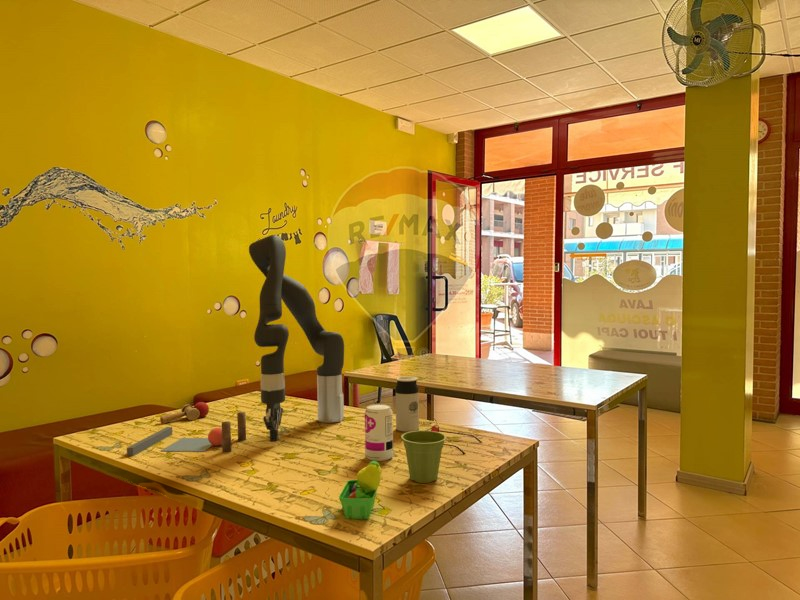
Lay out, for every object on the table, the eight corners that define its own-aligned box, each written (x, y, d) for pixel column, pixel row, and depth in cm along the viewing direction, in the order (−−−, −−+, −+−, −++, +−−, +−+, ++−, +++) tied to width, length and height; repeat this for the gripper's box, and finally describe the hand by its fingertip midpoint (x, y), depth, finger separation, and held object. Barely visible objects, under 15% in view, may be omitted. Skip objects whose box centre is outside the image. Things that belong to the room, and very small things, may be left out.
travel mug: (392, 428, 197) (391, 377, 196) (413, 425, 200) (412, 375, 199) (401, 433, 189) (400, 380, 189) (422, 430, 193) (422, 379, 192)
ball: (232, 431, 181) (217, 421, 181) (225, 438, 176) (210, 428, 175) (223, 444, 182) (208, 435, 182) (216, 451, 176) (201, 442, 176)
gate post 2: (247, 438, 186) (246, 411, 186) (244, 440, 183) (243, 413, 183) (239, 438, 186) (239, 411, 186) (236, 440, 184) (236, 413, 183)
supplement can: (372, 463, 159) (371, 411, 158) (361, 455, 166) (360, 405, 166) (398, 459, 163) (397, 408, 162) (385, 451, 170) (384, 402, 169)
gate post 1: (232, 450, 173) (231, 421, 173) (229, 452, 171) (228, 423, 170) (224, 450, 174) (223, 421, 173) (221, 452, 171) (220, 423, 171)
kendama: (167, 430, 204) (213, 414, 216) (163, 413, 204) (210, 398, 216) (160, 429, 210) (206, 414, 222) (156, 413, 210) (202, 399, 222)
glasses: (436, 437, 186) (436, 422, 185) (483, 444, 177) (483, 428, 177) (417, 449, 173) (416, 433, 173) (466, 456, 165) (466, 439, 165)
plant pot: (413, 490, 138) (412, 445, 138) (394, 475, 149) (394, 433, 149) (455, 482, 143) (454, 439, 143) (434, 468, 154) (433, 428, 154)
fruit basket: (348, 500, 132) (347, 453, 132) (385, 501, 132) (384, 454, 131) (338, 521, 121) (337, 469, 121) (378, 522, 120) (378, 470, 120)
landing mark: (222, 438, 186) (222, 438, 186) (204, 451, 172) (204, 451, 172) (182, 438, 187) (182, 437, 187) (160, 451, 173) (160, 450, 173)
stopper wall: (172, 434, 193) (172, 427, 193) (133, 456, 169) (133, 447, 169) (166, 434, 193) (166, 426, 193) (126, 455, 169) (126, 447, 169)
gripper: (268, 383, 184) (269, 435, 184) (254, 391, 170) (255, 447, 171) (290, 383, 183) (291, 435, 184) (278, 391, 170) (279, 447, 170)
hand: (274, 441), depth 177 cm, fingers closed
